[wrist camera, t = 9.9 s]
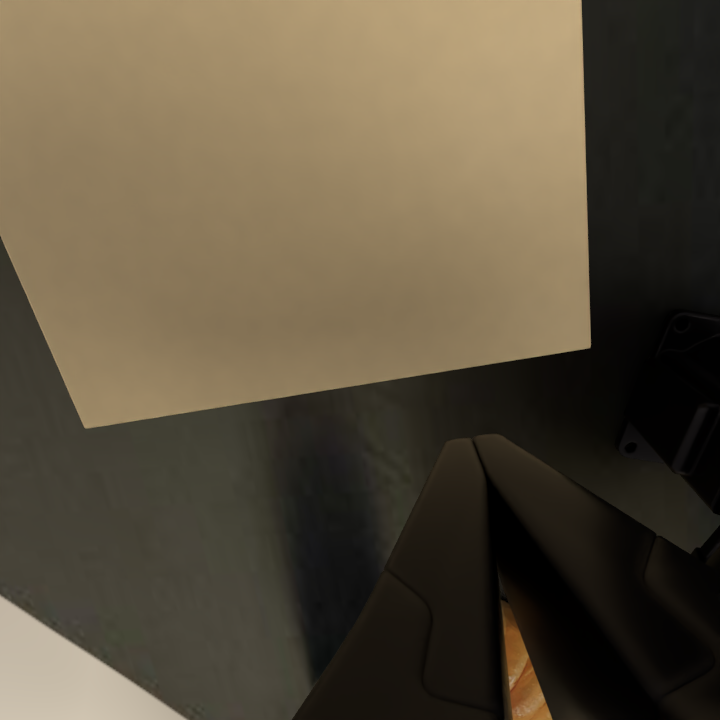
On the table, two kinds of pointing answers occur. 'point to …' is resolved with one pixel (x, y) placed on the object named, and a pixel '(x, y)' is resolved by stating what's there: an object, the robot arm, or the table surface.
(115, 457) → the table surface
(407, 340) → the small drawer cabinet
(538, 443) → the table surface
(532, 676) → the pastry
